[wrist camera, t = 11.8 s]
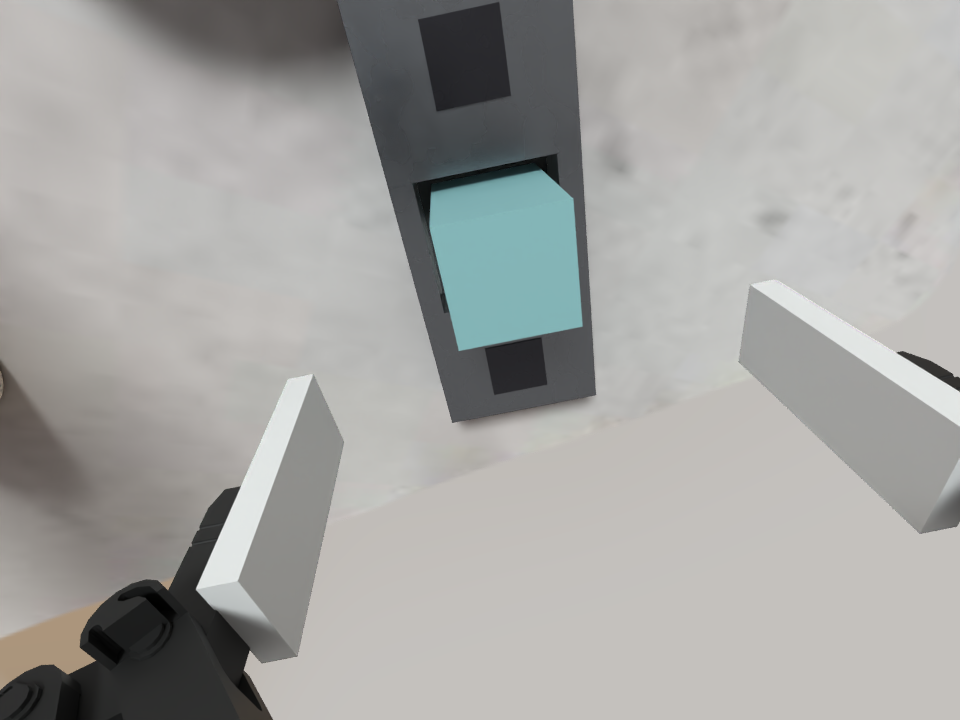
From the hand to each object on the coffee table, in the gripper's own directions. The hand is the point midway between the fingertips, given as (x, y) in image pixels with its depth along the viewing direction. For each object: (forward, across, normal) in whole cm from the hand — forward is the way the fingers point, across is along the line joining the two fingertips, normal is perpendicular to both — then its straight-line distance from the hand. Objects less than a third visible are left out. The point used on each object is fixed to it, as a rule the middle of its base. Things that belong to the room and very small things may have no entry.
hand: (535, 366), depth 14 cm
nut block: (+16, 0, 0) cm, 17 cm away
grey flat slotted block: (+16, 0, 0) cm, 16 cm away
